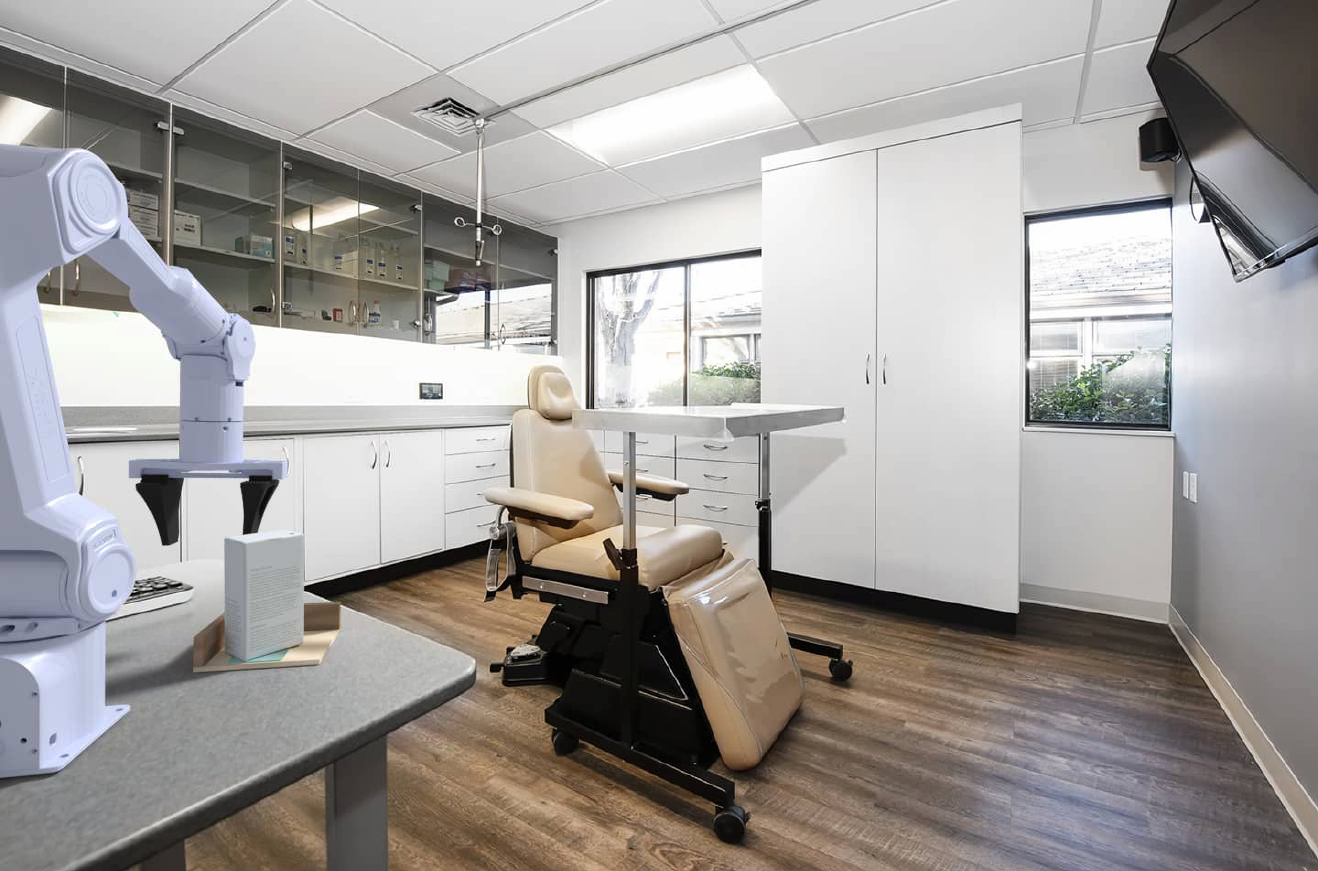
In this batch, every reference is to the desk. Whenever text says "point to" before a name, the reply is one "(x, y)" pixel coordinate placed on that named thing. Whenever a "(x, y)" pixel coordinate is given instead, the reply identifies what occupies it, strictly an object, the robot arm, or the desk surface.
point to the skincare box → (263, 593)
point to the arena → (316, 643)
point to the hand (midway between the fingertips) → (210, 543)
